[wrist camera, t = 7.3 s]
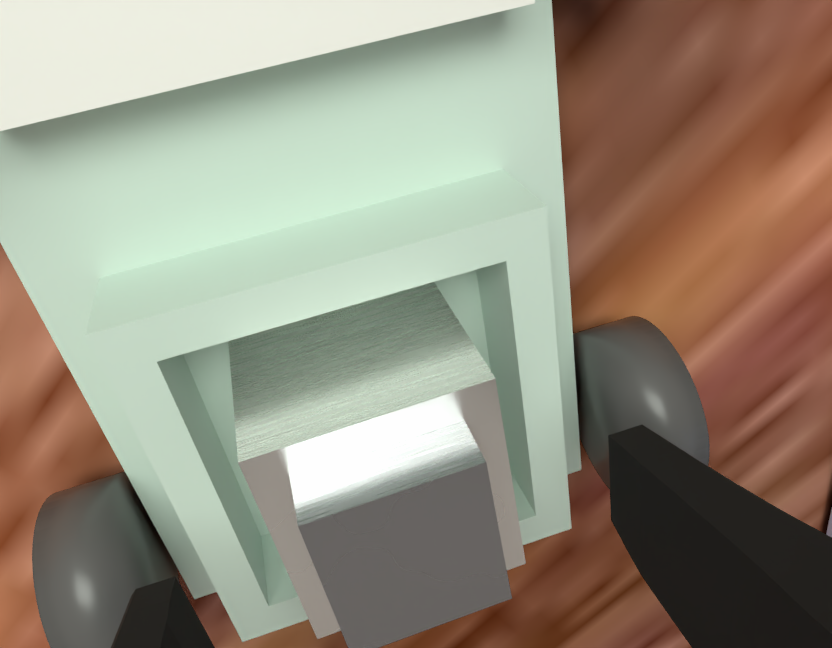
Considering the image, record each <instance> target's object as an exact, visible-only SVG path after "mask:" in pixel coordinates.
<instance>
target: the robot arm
mask: <svg viewBox="0 0 832 648" xmlns="http://www.w3.org/2000/svg"><path fill="white" fill-rule="evenodd" d="M608 443H609V471H610V500H611V520H612V522H613V524H614V526H615V528H616V530H617V532H618V534H619V536H620V537H621V539H622V541H623V543H624V545H625V547H626V549H627V551H628V552H629V554H630V556H631V558H632V560H633V561H634V563H635V565H636V567H637V569H638V570H639V572H640V574H641V575H642V577H643V578H644V580H645V581H646V583H647V584H648V586H649V587H650V589H651V590H652V591H653V593H654V594H655V596H656V597H657V599H658V600H659V601H660V603H661V604H662V606H663V607H664V609H665V610H666V611H667V613H668V614H669V616H670V617H671V619H672V620H673V621H674V623H675V624H676V626H677V627H678V628H679V630H680V631H681V633H682V634H683V635H684V637H685V638H686V640H687V641H688V642H689V644H690V645H691V647H692V648H832V509H831V513H830V518H829V523H828V528H827V533H826V534H824V533H822V532H820V531H819V530H817V529H815V528H813V527H811V526H809V525H807V524H805V523H804V522H802V521H800V520H798V519H796V518H794V517H793V516H791V515H789V514H787V513H785V512H784V511H782V510H780V509H778V508H777V507H775V506H773V505H771V504H770V503H768V502H766V501H765V500H763V499H761V498H759V497H758V496H756V495H754V494H753V493H751V492H749V491H748V490H746V489H744V488H743V487H741V486H739V485H737V484H736V483H734V482H732V481H731V480H729V479H728V478H726V477H724V476H723V475H721V474H719V473H718V472H716V471H715V470H713V469H711V468H710V467H708V466H707V465H705V464H704V463H702V462H700V461H699V460H697V459H696V458H694V457H693V456H691V455H689V454H688V453H686V452H685V451H683V450H682V449H680V448H678V447H677V446H675V445H674V444H672V443H671V442H669V441H668V440H666V439H665V438H663V437H661V436H660V435H658V434H657V433H655V432H654V431H652V430H650V429H649V428H647V427H645V426H644V425H638V426H635V427H632V428H629V429H626V430H623V431H620V432H617V433H614V434H611V435H608ZM111 648H215V647H214V646H213V644H212V642H211V640H210V638H209V636H208V635H207V633H206V631H205V629H204V627H203V626H202V624H201V622H200V620H199V618H198V616H197V615H196V613H195V611H194V609H193V607H192V606H191V604H190V602H189V600H188V598H187V596H186V595H185V593H184V591H183V589H182V587H181V586H180V584H179V582H178V580H177V578H176V576H174V577H171V578H168V579H165V580H162V581H159V582H156V583H153V584H150V585H147V586H144V587H140V588H137V589H135V591H134V592H133V594H132V595H131V597H130V600H129V603H128V605H127V608H126V610H125V613H124V615H123V618H122V621H121V623H120V626H119V628H118V631H117V633H116V636H115V638H114V641H113V643H112V646H111Z"/></svg>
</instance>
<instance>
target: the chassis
mask: <svg viewBox="0 0 832 648" xmlns="http://www.w3.org/2000/svg"><path fill="white" fill-rule="evenodd" d="M0 243H1V245H2V246H3V248H4V250H5V252H6V254H7V256H8V257H9V259H10V261H11V263H12V265H13V267H14V269H15V270H16V272H17V274H18V276H19V278H20V280H21V281H22V283H23V285H24V287H25V289H26V291H27V292H28V294H29V296H30V298H31V300H32V302H33V303H34V305H35V307H36V309H37V311H38V313H39V314H40V316H41V318H42V320H43V322H44V324H45V326H46V327H47V329H48V331H49V333H50V335H51V337H52V338H53V340H54V342H55V344H56V346H57V348H58V349H59V351H60V353H61V355H62V357H63V359H64V360H65V362H66V364H67V366H68V368H69V370H70V371H71V373H72V375H73V377H74V379H75V381H76V383H77V384H78V386H79V388H80V390H81V392H82V394H83V395H84V397H85V399H86V401H87V403H88V405H89V406H90V408H91V410H92V412H93V414H94V416H95V417H96V419H97V421H98V423H99V425H100V427H101V428H102V430H103V432H104V434H105V436H106V438H107V440H108V441H109V443H110V445H111V447H112V449H113V451H114V452H115V454H116V456H117V458H118V460H119V462H120V463H121V465H122V467H123V469H124V471H125V472H121V473H118V474H115V475H112V476H108V477H105V478H102V479H99V480H95V481H92V482H89V483H86V484H82V485H79V486H76V487H72V488H69V489H66V490H63V491H59V492H56V493H54V494H52V495H50V496H49V497H48V498H47V499H46V501H45V502H44V503H43V505H42V507H41V509H40V511H39V514H38V517H37V520H36V525H35V530H34V537H33V550H32V563H33V579H34V588H35V594H36V600H37V605H38V609H39V614H40V618H41V621H42V625H43V628H44V631H45V634H46V637H47V640H48V642H49V645H50V647H51V648H111V646H112V643H113V641H114V638H115V636H116V633H117V631H118V628H119V626H120V623H121V621H122V618H123V615H124V613H125V610H126V608H127V605H128V603H129V600H130V597H131V595H132V594H133V592H134V591H135V589H137V588H140V587H144V586H147V585H150V584H153V583H156V582H159V581H162V580H165V579H168V578H171V577H174V576H176V578H177V580H178V582H179V578H178V572H177V568H178V570H179V572H180V574H181V576H182V577H183V579H184V581H185V583H186V585H187V587H188V588H189V590H190V592H191V594H192V596H193V598H194V599H197V598H200V597H203V596H206V595H209V594H212V593H215V592H217V593H218V595H219V597H220V599H221V601H222V603H223V605H224V607H225V609H226V611H227V613H228V615H229V617H230V619H231V621H232V623H233V625H234V627H235V628H236V630H237V632H238V634H239V636H240V638H241V640H242V642H244V641H247V640H250V639H253V638H256V637H259V636H262V635H264V634H267V633H270V632H273V631H276V630H279V629H282V628H285V627H288V626H291V625H293V624H296V623H299V622H302V621H305V620H308V617H307V615H306V612H305V610H304V608H303V606H302V603H301V601H300V599H299V597H298V595H297V592H296V590H295V588H294V586H293V584H292V581H291V579H290V577H289V575H288V572H287V570H286V568H285V566H284V564H283V561H282V559H281V557H280V555H279V552H278V550H277V548H276V546H275V544H274V541H273V539H272V537H271V535H270V532H269V530H268V528H267V526H266V524H265V521H264V519H263V517H262V515H261V512H260V510H259V508H258V506H257V504H256V501H255V499H254V497H253V495H252V492H251V490H250V488H249V486H248V484H247V481H246V479H245V477H244V475H243V472H242V470H241V468H240V466H239V464H238V455H237V443H236V431H235V418H234V406H233V393H232V381H231V369H230V356H229V344H228V341H230V340H234V339H237V338H241V337H244V336H248V335H251V334H255V333H258V332H262V331H265V330H269V329H272V328H275V327H279V326H282V325H286V324H289V323H293V322H296V321H300V320H303V319H307V318H310V317H314V316H317V315H321V314H324V313H327V312H331V311H334V310H338V309H341V308H345V307H348V306H352V305H355V304H359V303H362V302H366V301H369V300H373V299H376V298H379V297H383V296H386V295H390V294H393V293H397V292H400V291H404V290H407V289H411V288H414V287H418V286H421V285H425V284H428V283H431V282H434V283H435V284H436V286H437V287H438V289H439V291H440V292H441V294H442V295H443V297H444V298H445V300H446V301H447V303H448V305H449V306H450V308H451V309H452V311H453V312H454V314H455V316H456V317H457V319H458V320H459V322H460V323H461V325H462V327H463V328H464V330H465V331H466V333H467V334H468V336H469V338H470V339H471V341H472V342H473V344H474V345H475V347H476V349H477V350H478V352H479V353H480V355H481V356H482V358H483V360H484V361H485V363H486V364H487V366H488V367H489V369H490V371H491V372H492V374H493V375H494V377H495V379H496V385H497V391H498V397H499V403H500V409H501V415H502V421H503V427H504V434H505V440H506V446H507V452H508V458H509V464H510V470H511V476H512V482H513V488H514V495H515V501H516V507H517V513H518V519H519V525H520V531H521V537H522V543H523V545H525V544H528V543H531V542H534V541H537V540H540V539H542V538H545V537H548V536H551V535H554V534H557V533H560V532H563V531H566V530H569V529H571V515H570V502H569V489H568V477H567V475H568V474H571V473H574V472H577V471H580V470H581V455H580V440H579V437H580V439H581V442H582V444H583V446H584V448H585V450H586V453H587V455H588V457H589V459H590V460H591V462H592V464H593V466H594V468H595V469H596V471H597V473H598V474H599V476H600V477H601V479H602V480H603V482H604V483H605V484H606V486H607V487H608V488H609V489H610V471H609V443H608V435H611V434H614V433H617V432H620V431H623V430H626V429H629V428H632V427H635V426H638V425H644V426H645V427H647V428H649V429H650V430H652V431H654V432H655V433H657V434H658V435H660V436H661V437H663V438H665V439H666V440H668V441H669V442H671V443H672V444H674V445H675V446H677V447H678V448H680V449H682V450H683V451H685V452H686V453H688V454H689V455H691V456H693V457H694V458H696V459H697V460H699V461H700V462H702V463H704V464H705V465H707V466H708V462H709V436H708V429H707V423H706V419H705V415H704V411H703V408H702V404H701V401H700V398H699V395H698V393H697V390H696V387H695V385H694V383H693V380H692V378H691V376H690V374H689V372H688V370H687V368H686V366H685V364H684V362H683V361H682V359H681V357H680V356H679V354H678V352H677V351H676V349H675V348H674V347H673V345H672V344H671V342H670V341H669V340H668V339H667V337H666V336H665V335H664V334H663V333H662V332H661V331H660V330H659V329H658V328H657V327H656V326H654V325H653V324H652V323H651V322H649V321H647V320H646V319H643V318H641V317H637V316H631V317H627V318H623V319H620V320H617V321H614V322H610V323H607V324H604V325H601V326H597V327H594V328H591V329H588V330H584V331H581V332H578V333H575V334H573V329H572V313H571V298H570V282H569V266H568V250H567V234H566V219H565V203H564V187H563V171H562V155H561V140H560V124H559V108H558V92H557V76H556V61H555V45H554V29H553V13H552V0H0ZM176 566H177V567H176Z"/></svg>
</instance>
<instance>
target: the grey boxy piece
mask: <svg viewBox="0 0 832 648" xmlns="http://www.w3.org/2000/svg"><path fill="white" fill-rule="evenodd" d="M228 344H229V356H230V369H231V381H232V393H233V406H234V418H235V431H236V443H237V455H238V464H239V466H240V468H241V470H242V472H243V475H244V477H245V479H246V481H247V484H248V486H249V488H250V490H251V492H252V495H253V497H254V499H255V501H256V504H257V506H258V508H259V510H260V512H261V515H262V517H263V519H264V521H265V524H266V526H267V528H268V530H269V532H270V535H271V537H272V539H273V541H274V544H275V546H276V548H277V550H278V552H279V555H280V557H281V559H282V561H283V564H284V566H285V568H286V570H287V572H288V575H289V577H290V579H291V581H292V584H293V586H294V588H295V590H296V592H297V595H298V597H299V599H300V601H301V603H302V606H303V608H304V610H305V612H306V615H307V617H308V619H309V621H310V623H311V626H312V628H313V630H314V632H315V635H316V637H317V639H319V638H322V637H325V636H327V635H330V634H333V633H336V632H338V631H342V634H343V636H344V639H345V641H346V644H347V646H348V648H379V647H382V646H384V645H387V644H390V643H392V642H395V641H398V640H401V639H403V638H406V637H409V636H411V635H414V634H417V633H420V632H422V631H425V630H428V629H430V628H433V627H436V626H439V625H441V624H444V623H447V622H449V621H452V620H455V619H458V618H460V617H463V616H466V615H468V614H471V613H474V612H477V611H479V610H482V609H485V608H487V607H490V606H493V605H496V604H498V603H501V602H504V601H506V600H509V599H512V596H511V591H510V585H509V580H508V575H507V570H509V569H512V568H515V567H518V566H520V565H523V564H526V562H525V556H524V549H523V543H522V537H521V531H520V525H519V519H518V513H517V507H516V501H515V495H514V488H513V482H512V476H511V470H510V464H509V458H508V452H507V446H506V440H505V434H504V427H503V421H502V415H501V409H500V403H499V397H498V391H497V385H496V379H495V377H494V375H493V374H492V372H491V371H490V369H489V367H488V366H487V364H486V363H485V361H484V360H483V358H482V356H481V355H480V353H479V352H478V350H477V349H476V347H475V345H474V344H473V342H472V341H471V339H470V338H469V336H468V334H467V333H466V331H465V330H464V328H463V327H462V325H461V323H460V322H459V320H458V319H457V317H456V316H455V314H454V312H453V311H452V309H451V308H450V306H449V305H448V303H447V301H446V300H445V298H444V297H443V295H442V294H441V292H440V291H439V289H438V287H437V286H436V284H435V283H434V282H431V283H428V284H425V285H421V286H418V287H414V288H411V289H407V290H404V291H400V292H397V293H393V294H390V295H386V296H383V297H379V298H376V299H373V300H369V301H366V302H362V303H359V304H355V305H352V306H348V307H345V308H341V309H338V310H334V311H331V312H327V313H324V314H321V315H317V316H314V317H310V318H307V319H303V320H300V321H296V322H293V323H289V324H286V325H282V326H279V327H275V328H272V329H269V330H265V331H262V332H258V333H255V334H251V335H248V336H244V337H241V338H237V339H234V340H230V341H228Z"/></svg>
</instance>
